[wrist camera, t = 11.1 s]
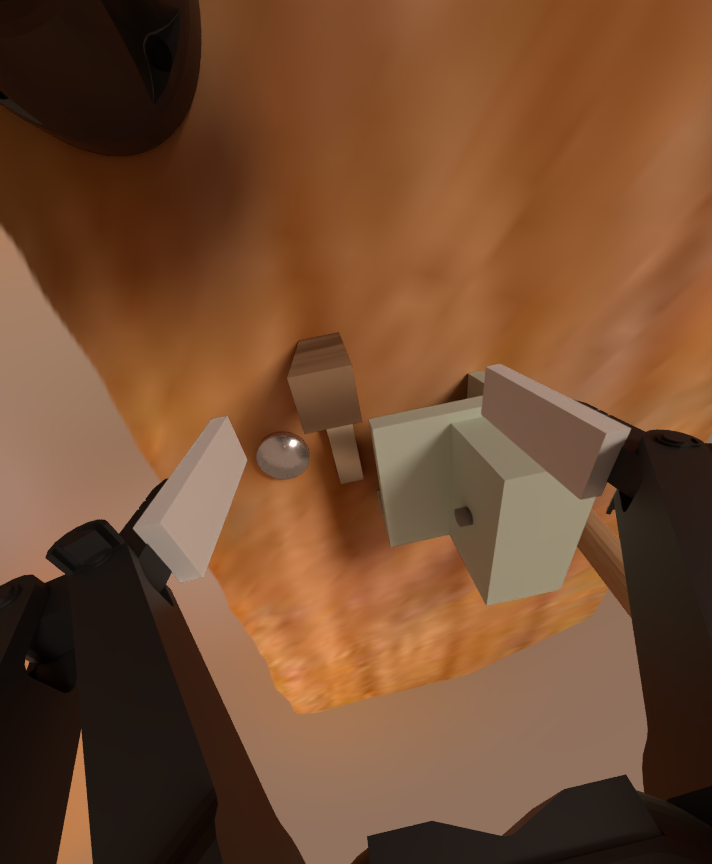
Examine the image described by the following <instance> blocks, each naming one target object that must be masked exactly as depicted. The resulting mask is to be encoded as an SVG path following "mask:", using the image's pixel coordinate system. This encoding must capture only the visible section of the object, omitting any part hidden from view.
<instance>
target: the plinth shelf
mask: <svg viewBox="0 0 712 864" xmlns="http://www.w3.org/2000/svg"><path fill="white" fill-rule="evenodd" d="M484 380H485V373H484V372H482V371H477V372H472V373H468V385H467V399H464V400H459V401H454V402H449V403H444V404H439V405H435V406H430V407H425V408H420V409H415V410H410V411H405V412H401V413H396V414H391V415H386V416H381V417H376V418H371V419H369V424H370V430H371V436H372V442H373V449H374V455H375V461H376V467H377V474H378V480H379V486H380V491H376V492H377V497H378V502H379V505H380V509H381V513H382V516H383V520H384V524H385V527H386V531H387V535H388V538H389V542H390V546H391V547H394V546H399V545H403V544H408V543H413V542H417V541H422V540H426V539H431V538H436V537H440V536H445V535H450V537H451V538H452V540H453V542H454V544H455V546H456V548H457V550H458V552H459V554H460V556H461V558H462V560H463V562H464V564H465V565H466V567H467V569H468V571H469V573H470V575H471V577H472V579H473V581H474V583H475V585H476V587H477V589H478V591H479V593H480V594H481V596H482V598H483V600H484V602H485V604H486V606H489V605H493V604H498V603H502V602H507V601H511V600H515V599H520V598H524V597H529V596H533V595H538V594H542V593H547V592H551V591H555V590H560V589H561V587H562V584H563V581H564V579H565V576H566V573H567V571H568V568H569V566H570V563H571V560H572V558H573V555H574V553H575V550H576V547H577V545H578V542H579V539H580V537H581V534H582V532H583V529H584V526H585V524H586V521H587V519H588V516H589V513H590V511H591V508H592V505H593V503H594V500H595V498H596V497H592V498H588V499H583V500H580V499H578V498H577V497H576V496H575V495H574V494H573V493H571V492H570V491H569V490H568V489H567V488H566V487H565V486H563V485H562V484H561V483H560V482H559V481H558V480H556V479H555V478H554V477H553V476H552V475H551V474H549V473H548V472H547V471H546V470H545V469H544V468H542V467H541V466H540V465H539V464H538V463H537V462H536V461H534V460H533V459H532V458H531V457H530V456H529V455H527V454H526V453H525V452H524V451H523V450H522V449H520V448H519V447H518V446H517V445H516V444H515V443H513V442H512V441H511V440H510V439H509V438H508V437H506V436H505V435H504V434H503V433H502V432H501V431H500V430H498V429H497V428H496V427H495V426H494V425H493V424H491V423H490V422H489V421H488V420H487V419H486V418H484V417H483V416H482V415H481V409H482V399H483V390H484Z"/></svg>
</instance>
